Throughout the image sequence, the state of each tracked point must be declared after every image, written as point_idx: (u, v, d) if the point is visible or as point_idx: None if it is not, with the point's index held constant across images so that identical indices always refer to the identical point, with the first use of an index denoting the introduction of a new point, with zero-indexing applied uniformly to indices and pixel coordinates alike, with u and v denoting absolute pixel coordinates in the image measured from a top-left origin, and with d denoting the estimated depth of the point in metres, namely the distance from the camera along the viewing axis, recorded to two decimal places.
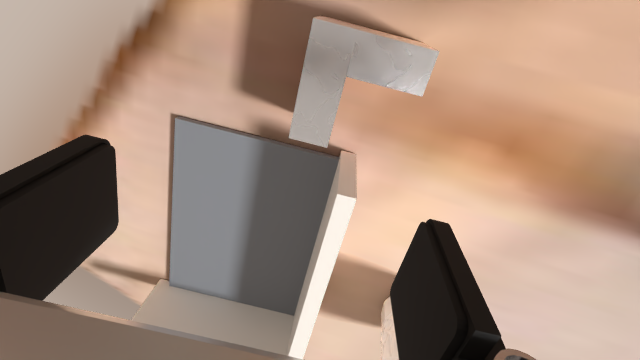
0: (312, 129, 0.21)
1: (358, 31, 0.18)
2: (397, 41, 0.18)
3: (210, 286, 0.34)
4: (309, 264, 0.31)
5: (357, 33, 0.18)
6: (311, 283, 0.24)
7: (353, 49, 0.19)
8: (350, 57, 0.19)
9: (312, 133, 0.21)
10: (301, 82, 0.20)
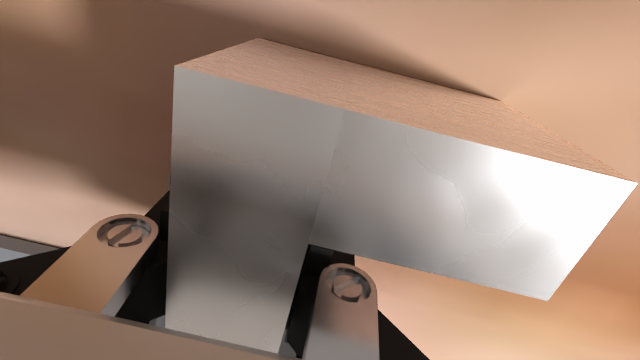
0: None
1: (345, 114, 0.05)
2: (487, 149, 0.05)
3: None
4: None
5: (341, 121, 0.05)
6: None
7: (329, 170, 0.05)
8: (319, 193, 0.06)
9: None
10: (172, 253, 0.06)
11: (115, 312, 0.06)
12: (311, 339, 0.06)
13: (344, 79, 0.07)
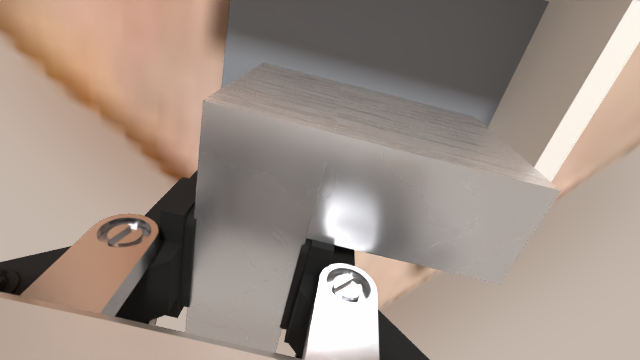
0: (235, 332, 0.09)
1: (334, 137, 0.06)
2: (444, 164, 0.07)
3: None
4: None
5: (331, 142, 0.06)
6: None
7: (322, 180, 0.07)
8: (315, 197, 0.07)
9: (236, 339, 0.09)
10: (195, 246, 0.08)
11: (115, 312, 0.06)
12: (311, 339, 0.06)
13: (336, 103, 0.08)
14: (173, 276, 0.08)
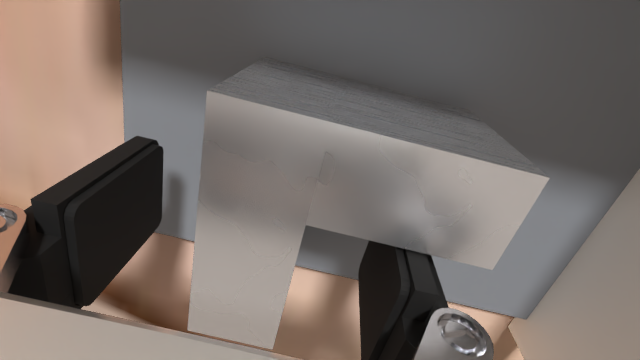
0: (237, 318, 0.09)
1: (332, 126, 0.07)
2: (438, 151, 0.07)
3: (548, 240, 0.13)
4: None
5: (330, 131, 0.07)
6: None
7: (321, 167, 0.07)
8: (314, 185, 0.07)
9: (238, 325, 0.09)
10: (199, 233, 0.08)
11: None
12: None
13: (334, 95, 0.09)
14: (52, 272, 0.07)
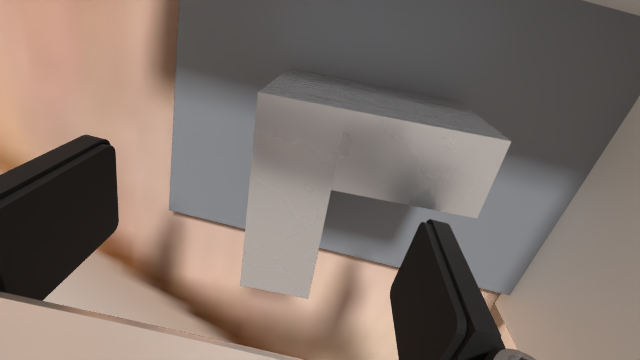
0: (279, 272, 0.12)
1: (348, 112, 0.09)
2: (426, 126, 0.09)
3: (525, 223, 0.16)
4: None
5: (346, 116, 0.09)
6: None
7: (341, 144, 0.10)
8: (336, 158, 0.10)
9: (280, 278, 0.12)
10: (250, 201, 0.11)
11: None
12: None
13: (347, 93, 0.11)
14: None
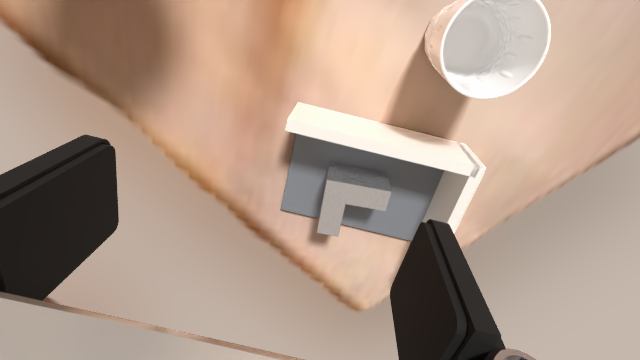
0: (329, 228, 0.39)
1: (350, 184, 0.37)
2: (369, 188, 0.37)
3: (414, 213, 0.43)
4: None
5: (349, 185, 0.37)
6: (360, 148, 0.33)
7: (348, 192, 0.37)
8: (347, 195, 0.37)
9: (329, 230, 0.39)
10: (322, 207, 0.38)
11: None
12: None
13: (349, 175, 0.39)
14: None
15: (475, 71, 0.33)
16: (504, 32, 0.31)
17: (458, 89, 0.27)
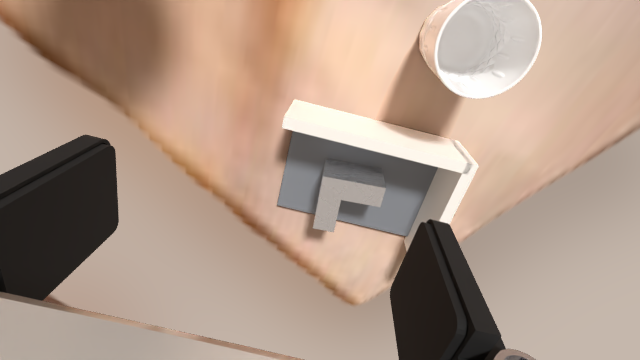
0: (325, 223, 0.40)
1: (345, 181, 0.37)
2: (365, 184, 0.37)
3: (409, 209, 0.44)
4: None
5: (345, 182, 0.37)
6: (355, 145, 0.34)
7: (343, 188, 0.38)
8: (342, 191, 0.38)
9: (325, 225, 0.40)
10: (318, 203, 0.39)
11: None
12: None
13: (345, 171, 0.39)
14: None
15: (469, 70, 0.34)
16: (497, 32, 0.31)
17: (452, 89, 0.28)
